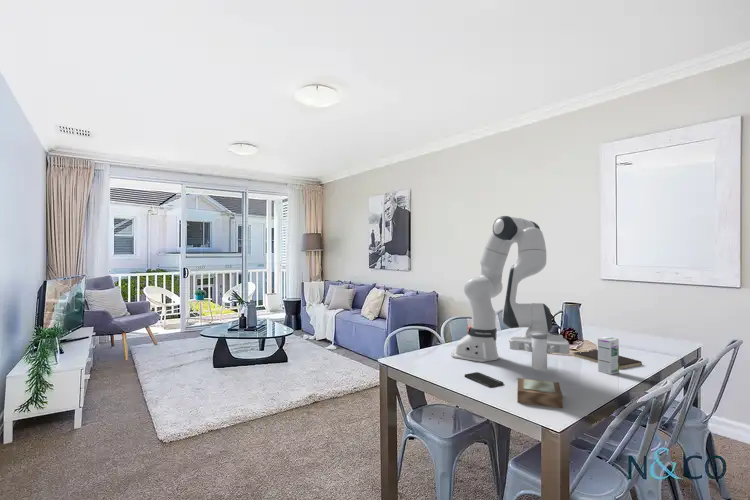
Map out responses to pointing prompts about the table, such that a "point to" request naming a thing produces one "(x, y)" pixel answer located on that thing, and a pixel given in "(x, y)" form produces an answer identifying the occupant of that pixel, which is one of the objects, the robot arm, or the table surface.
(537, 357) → the canister
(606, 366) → the syrup box
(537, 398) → the walnut base
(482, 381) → the phone
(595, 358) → the hardcover book
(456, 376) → the table surface
